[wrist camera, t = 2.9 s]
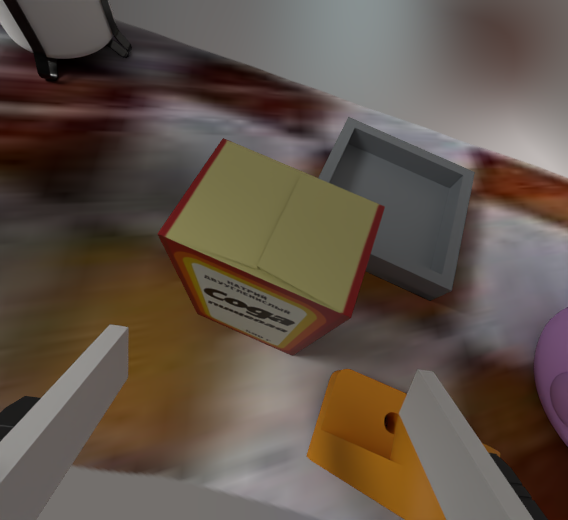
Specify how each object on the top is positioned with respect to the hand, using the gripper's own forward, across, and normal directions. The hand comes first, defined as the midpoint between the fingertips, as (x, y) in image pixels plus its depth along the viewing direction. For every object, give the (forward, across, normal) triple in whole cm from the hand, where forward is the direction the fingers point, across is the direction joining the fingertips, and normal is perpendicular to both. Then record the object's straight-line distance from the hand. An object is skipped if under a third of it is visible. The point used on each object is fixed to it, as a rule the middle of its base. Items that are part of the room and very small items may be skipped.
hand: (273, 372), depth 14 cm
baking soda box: (+15, -1, -5) cm, 16 cm away
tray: (+24, +12, +4) cm, 27 cm away
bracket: (+8, +11, -12) cm, 18 cm away
